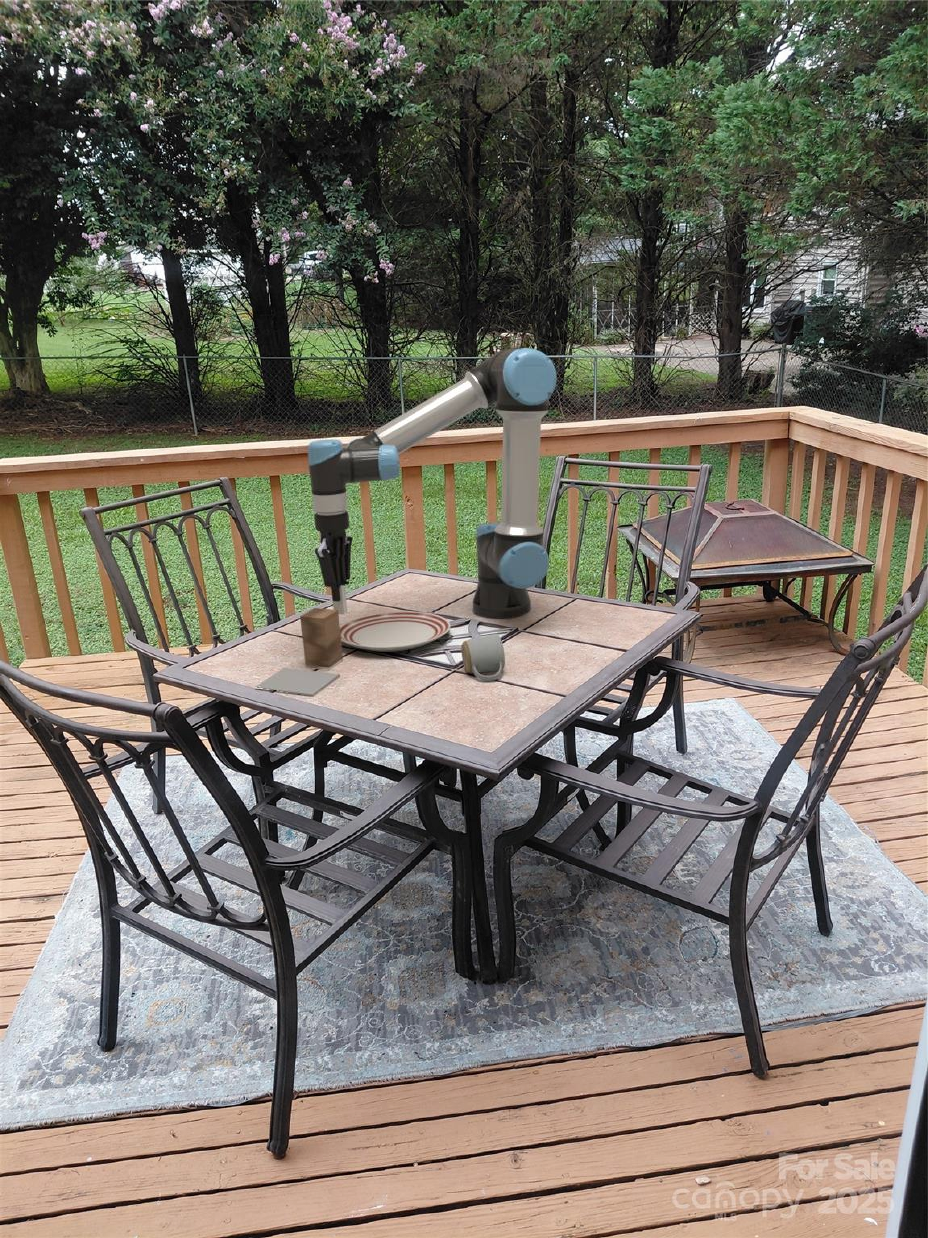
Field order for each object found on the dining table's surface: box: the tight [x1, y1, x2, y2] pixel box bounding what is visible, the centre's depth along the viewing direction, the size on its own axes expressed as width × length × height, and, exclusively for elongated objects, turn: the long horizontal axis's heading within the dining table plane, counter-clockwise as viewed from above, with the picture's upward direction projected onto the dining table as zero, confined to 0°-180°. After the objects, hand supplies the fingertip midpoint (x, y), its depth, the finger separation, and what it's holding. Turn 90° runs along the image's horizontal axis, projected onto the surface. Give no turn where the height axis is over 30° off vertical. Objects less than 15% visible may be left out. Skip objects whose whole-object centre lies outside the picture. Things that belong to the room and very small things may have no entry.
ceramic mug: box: [460, 633, 506, 683], centre depth 177 cm, size 11×8×8 cm
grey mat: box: [255, 667, 340, 697], centre depth 177 cm, size 14×11×1 cm
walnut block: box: [299, 607, 344, 671], centre depth 185 cm, size 6×6×12 cm
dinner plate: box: [340, 610, 451, 653], centre depth 200 cm, size 28×27×3 cm
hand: (340, 613), depth 192 cm, fingers closed
